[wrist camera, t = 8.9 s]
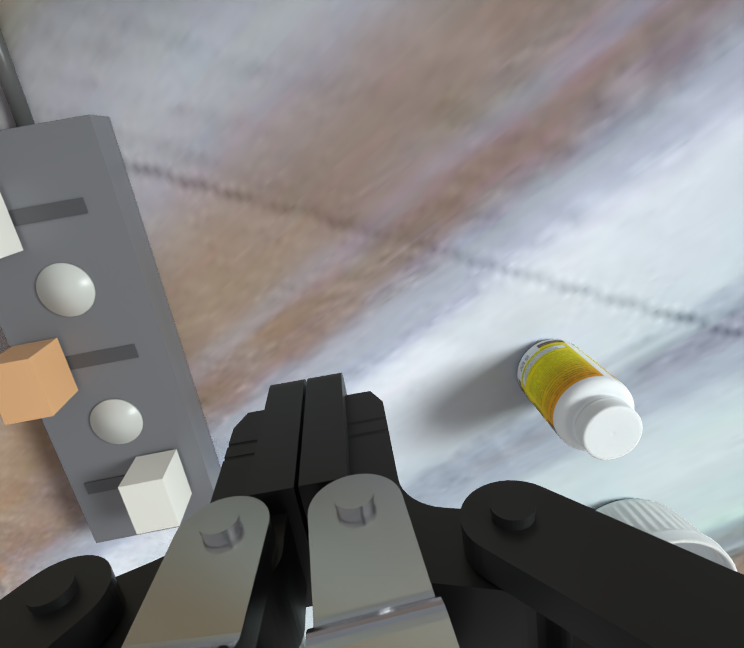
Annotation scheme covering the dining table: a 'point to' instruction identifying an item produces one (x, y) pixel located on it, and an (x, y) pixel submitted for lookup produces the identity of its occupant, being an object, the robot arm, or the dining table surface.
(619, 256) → the dining table surface
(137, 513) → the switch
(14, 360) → the switch middle
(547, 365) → the supplement bottle
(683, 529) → the ramekin
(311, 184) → the dining table surface
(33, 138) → the power strip
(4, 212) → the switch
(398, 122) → the dining table surface
